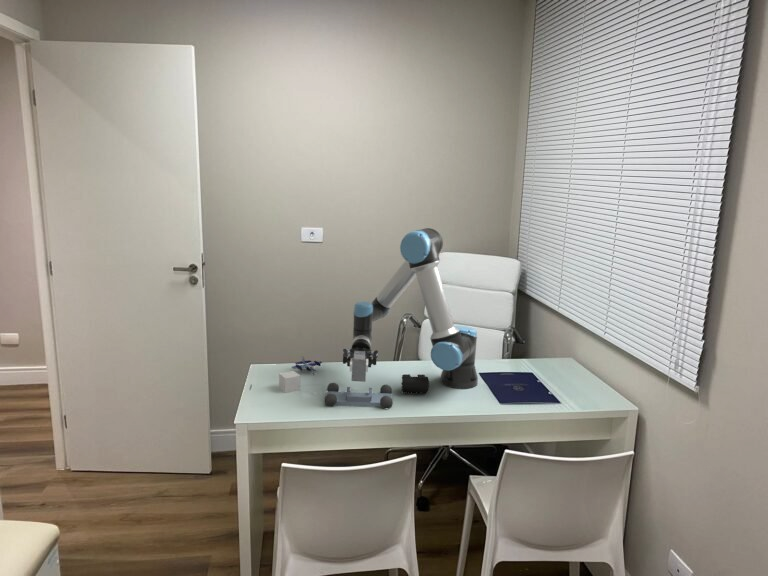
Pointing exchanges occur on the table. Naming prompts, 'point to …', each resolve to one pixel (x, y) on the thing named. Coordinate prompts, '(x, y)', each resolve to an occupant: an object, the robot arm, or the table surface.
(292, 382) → the light grey cube
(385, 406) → the chassis
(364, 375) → the capped grey pillar
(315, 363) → the toy airplane
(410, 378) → the black arched housing
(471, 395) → the table surface
